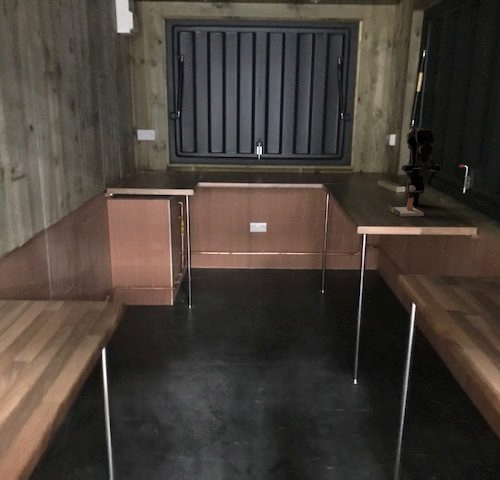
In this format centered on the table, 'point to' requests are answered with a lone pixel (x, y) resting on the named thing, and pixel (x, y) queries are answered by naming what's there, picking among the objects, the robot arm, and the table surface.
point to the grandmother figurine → (411, 198)
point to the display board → (405, 211)
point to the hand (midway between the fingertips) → (419, 184)
